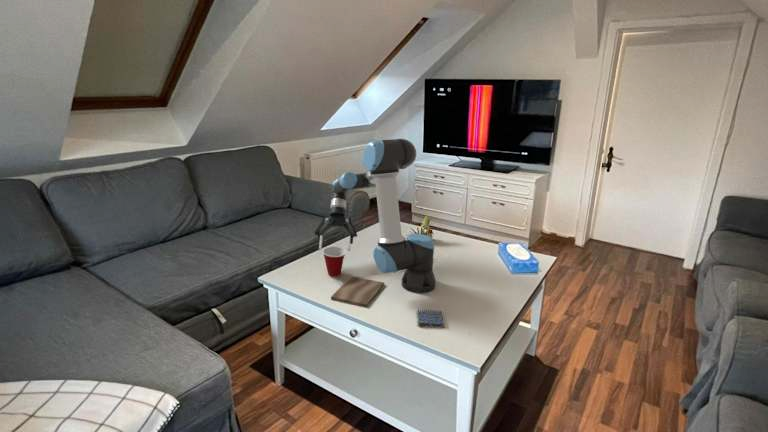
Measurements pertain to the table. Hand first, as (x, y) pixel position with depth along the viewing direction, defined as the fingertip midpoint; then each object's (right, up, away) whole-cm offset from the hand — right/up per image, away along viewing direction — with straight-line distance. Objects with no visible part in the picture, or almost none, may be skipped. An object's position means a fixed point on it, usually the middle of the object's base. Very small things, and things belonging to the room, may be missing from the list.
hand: (334, 249), depth 194 cm
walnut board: (+12, -17, -17) cm, 27 cm away
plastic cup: (0, -12, -2) cm, 12 cm away
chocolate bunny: (+47, +1, +37) cm, 60 cm away
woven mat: (+41, -25, -36) cm, 60 cm away
